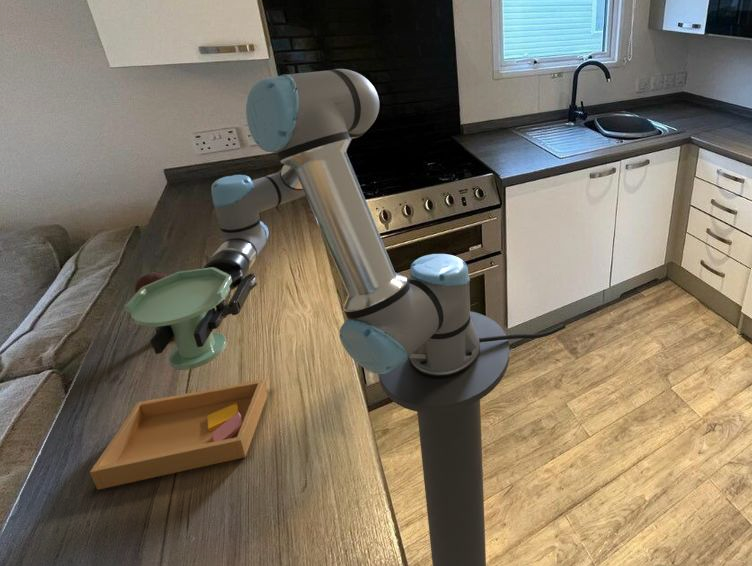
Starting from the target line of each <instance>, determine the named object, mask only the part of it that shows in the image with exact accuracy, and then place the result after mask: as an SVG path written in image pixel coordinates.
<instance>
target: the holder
mask: <svg viewBox="0 0 752 566" xmlns="http://www.w3.org/2000/svg"><path fill="white" fill-rule="evenodd" d="M268 394H269V393H268V389H267V385H266V382H265V379H263V378H262V379H259V380H258V379H257V380H252V381H248V382H247V381H246V382H243V383H236V384H231V385H226V386H220V387H215V388H209V389H203V390H197V391H193V392H188V393H182V394H176V395H171V396H165V397H159V398H154V399H148V400H143V401H138V402H136V403H135V405H134V407H133V408H132V409H131V411H130V412H129V414H128V415H127V417H126V418H125V420H124V421H123V423H122V424H121V425H120V427H119V428H118V430H117V431H116V432H115V434H114V436H113V437H112V439H111V440H110V442H109V443H108V444H107V446H106V447H105V449H104V450H103V452H102V453H101V455H100V456H99V458H98V459H97V461H96V462H95V463H94V465H93V467H92V468H91V470H90V471H89V474H90V476H91V478H92V480H93V482H94V485H95V488H96V489H97V490H103V489H108V488H112V487H117V486H122V485H126V484H130V483H134V482H139V481H143V480H149V479H153V478H158V477H162V476H167V475H172V474H175V473H180V472H184V471H185V472H186V471H190V470H194V469H199V468H204V467H207V466H212V465H216V464H221V463H226V462H229V461H234V460H238V459H243V458H246V457H247V454H248V451H249V448H250V445H251V443H252V440H253V437H254V435H255V431H256V429H257V426H258V423H259V421H260V418H261V415H262V413H263V410H264V407H265V404H266V401H267V398H268ZM235 403H237V406H238V411H239V413H240V414H241V416H242V419H243V423H242V425H241V428H240V430H239V431H238V432H237V433H236V434H235V435H233V436H232V437H231V438H230V439H226V440H221V441H217V442H214V440H213V437H212V432H214V431H215V430H216V429H214V430H212V431H210V432H209V430H208V424H207V415H210V414H212V413H214V412H217V411H219V410H221V409H223V408H226V407H228V406H230V405H232V404H235Z"/></svg>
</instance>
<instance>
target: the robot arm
mask: <svg viewBox="0 0 752 566" xmlns="http://www.w3.org/2000/svg"><path fill="white" fill-rule="evenodd" d="M246 98H247V99H246V105H245V115H246V116H245V117H246V122H247V123H246V124H247V126H248V130H249V133H250V135H251V138H252V140H253V141H254V142H255V144H256V145H258V147H259V149H260V150H262V151H264V152H267V153H272V154H274V153H275V154H276V155H277V157H278V160H279V162H280V164H283V166H282V168H280V170H279V171H277V172H275V173H272V174H268V175H265V176H261V177H260V178H256V179H255V178H254V179H253V180H252V178H251V177H250V176H248V175H246V174H233V175H227V176H223V177H221V178H218V179H216V180H215V181H214V182H213V183H212V184H211V187H210V189H211V199H212V203H213V207H214V210H215V213H216V218H217V220H218V223H219V228H220V233H221V236H222V242H221V244H220V245H219V246H218V248H217V249H216V250H215V252H214V253H213V254H212V255H211V257H209V260H208V261H207V262H206V263H205V264H204V266H203V267H202V269H203V268H210V267H215V268H217V269H219V270H221V271H223V272H225V273H227V274H229V275H231V279H232V283H231V284H230V291H229V293H228V295H227V296H226V298H225V299H224V300H223V301H222V302H220V303H219V304H218V305H217V306H215V307H214V308H212V309H211V310H209V311H207V314H206V315H205V317H204V318H203V320H202V321H201V323H200V325H199V326H198V328H197V329H196V331H195V332H194V337H195V341H196V344H197V347H202V346H203V345H204V344H205V342H206V340H207V339H208V337H209V335H210V333H211V332H213V330H217V329H218V328H219V327H220V326H221V324H222V323H223V321H224V319H226V318H227V317H228V316H229V315H232V316H236V315H239V314H240V313H241V310H242V308H243V307H244V305H245V302H246V301H247V298H248V297H249V295H250V293H251V291H252V290H253V289H254V288H255V287H256V286H257V285H258V283H257V278H256V274H255V273H253V272H252V273H249V272H250V271H251V268H252V267H253V265H254V263H255V261H256V260H257V257H258V256H259V254H260V253H261V251H262V250H263V249H264V247H265V246H266V244H267V241H268V239H269V233H270V232H269V228H268V226H267V225H266V224H265V223H264V222H263V221H261V218H260V213H262V212H266V211H268V210H270V209H273V208H276V207H278V206H281V205H284V204H287V203H289V202H293V201H295V200H298V199H301V198H305V197H306V199H307V202H308V204H309V207H310V210H311V212H312V214H313V216H314V218H315V220H316V223H317V225H318V228H319V231H320V233H321V235H322V237H323V240H324V242H325V244H326V246H327V249H328V252H329V253H330V256H331V258H332V260H333V263H334V265H335V267H336V270H337V272H338V275H339V277H340V280H341V282H342V285H343V287H344V289H345V291H346V294H347V297H346V299H345V301H344V303H343V306H342V308H343V311H344V314H345V315H346V318H347V320H344V322H343V324H342V325H341V326H340V328H339V340H340V342H341V344H342V347H343V348H344V350H345V351H346V353H347V354H348V356H350V358H351V359H352V360H353V361H354V362H355V363H357V364H358V366H361V367H362V368H363V369H365V370H366V371H368V372H371V373H373V374H376V375H377V374H385V373H388V372H390V371H392V370H393V369H394V368H396V367H397V366H398V365H399V364H401V363H403V362H405V361H406V360H407V359H408V357H409V358H410V362H411V365H412V367H413V368H414V370H415V371H416V372H418V373H419V374H421V375H423V376H425V377H429V378H435V379H443V378H449V377H453V376H456V375H459V374H461V373H463V372H464V371H466V370H467V369H469V368H470V367H471V366H472V365H473V364H474V363H475V361H476V360H477V358H478V356H479V353H480V342H488V341H498V340H507V339H508V340H516V339H517V340H519V339H520V340H521V339H541V338H545V337H548V336H552V335H554V334H556V333H558V332H561V331H562V330H565V329H566V324H560V325H558V326H556V327H554V328H553V329H550V330H548V331H544V332H539V333H516V334H506V335H504V336H494V337H484V338H479V337H478V334H477V332H476V330H475V327H474V325H473V323H472V321H471V318H470V311H471V295H470V293H471V291H470V281H471V277H470V276H469V267H468V265H467V263H466V262H465V261H464V260H463V258H460V257H458V256H457V255H456V256H455V255H452V254H447V253H431V254H426V255H422V256H420V257H418V258H417V259H415V260H414V261H413V262H412V263H411V264H410V269H409V275H410V277H409V278H407V276H405V275H403V274H402V275H401V274H399V273H397V272H395V269H394V267H393V263H392V262H391V259H390V256H389V254H388V251H387V249H386V247H385V244H384V242H383V241H384V240H383V239H382V236H381V234H380V231H379V229H378V227H377V224H376V222H375V220H374V217H373V215H372V214H373V213H372V212H371V210H370V207H369V204H368V203H367V200H366V197H365V195H364V193H363V189H362V188H361V186H360V183H359V180H358V177H357V175H356V172H355V170H354V168H353V165H352V163H351V160H350V158H349V156H348V155H349V154H348V153H347V151H348V148H349V146H350V144H351V142H352V140H353V139H357V138H360V137H362V136H363V135H365V134H366V132H367V131H368V130H369V129H370V128H371V126H373V124H374V123H375V121H376V119H377V117H378V115H379V112H380V99H379V94H378V92H377V90H376V88H375V86H374V85H373V84H372V83H371V82H370V80H369V79H368V78H366V77H365V76H364V75H362V74H361V73H358V72H357V71H353V70H351V69H346V68H335V69H334V68H332V69H328V70H320V71H310V72H309V71H308V72H300V73H299V72H298V73H289V74H287V73H286V74H285V73H283V74H281V75H277V76H272V77H269V78H268V77H267V78H264V79H261V80H258V81H257V82H255V83H254V84H253V85H252V87H251V88H250V90H249V92H248V95H247V97H246ZM233 290H235V291H234V293H233V294H232V296H231V292H232V291H233ZM155 332H156V333H155V335H154V336H153V337H152V339H150V341H151V344H152V347H153V351H154V353H155V354H156V355H158V354H162V353H163V352H164V350H165V349H166V347H167V346H168V344H169V343H170V340H171V339H172V337H173V332H172V329H171V326H170V325H167V326H159V327H155ZM171 341H172V340H171Z"/></svg>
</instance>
